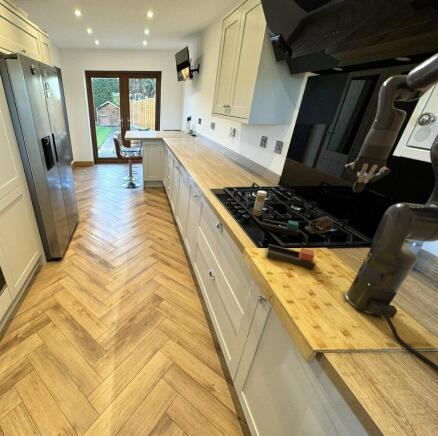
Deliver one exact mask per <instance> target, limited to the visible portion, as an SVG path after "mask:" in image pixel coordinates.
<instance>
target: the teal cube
mask: <svg viewBox="0 0 438 436" xmlns="http://www.w3.org/2000/svg"><path fill="white" fill-rule="evenodd" d="M286 224H287V229H292V230H296V231H297V228H298V226H299V221H296V220H295V221H294V220H290V219H289V220H288V221H287V223H286ZM299 227H300V226H299ZM298 229H299V228H298Z"/></svg>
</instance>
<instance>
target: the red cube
mask: <svg viewBox="0 0 438 436" xmlns="http://www.w3.org/2000/svg"><path fill="white" fill-rule="evenodd" d="M299 252H300V253H299V259H302V260H305V261H309V262H312V260H313V261H314V258H315V252H314V250H313V249H309V248H308V249H307V248H304V247H301V248H300V251H299Z"/></svg>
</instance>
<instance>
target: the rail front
mask: <svg viewBox="0 0 438 436" xmlns="http://www.w3.org/2000/svg"><path fill="white" fill-rule="evenodd" d="M267 246H268V247H267V250H266V255H265V256H266V258H268V259H271V260H274V261H278V262H282V263H285V264H289V265H293V266H297V267H300V268H304V269H308V270H311V271H314V269H315V266H316V263H315V262H314V259H313V260H312V262H309V261H305V260H302V259H299V253H300V251H298V250H295V249H290V248H287V247H282V246H278V245H275V244H270V243H268V245H267Z"/></svg>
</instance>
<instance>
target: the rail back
mask: <svg viewBox="0 0 438 436" xmlns="http://www.w3.org/2000/svg"><path fill="white" fill-rule="evenodd" d="M287 224H288V223H285V222H280V221H276V220H271V219H267V218H262V220H261V225H260V229H261V230H264V231H265V230H266V231H269V232H275V233H278V234H283V235H287V236H290V237H291V236H292V237H294V238H295V237H296V238H299V234H300V230H299V227H300V226H298V228H297V231H296V230H292V229H287V228H283V227H280V226H279V225H282V226H286V227H287Z"/></svg>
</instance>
